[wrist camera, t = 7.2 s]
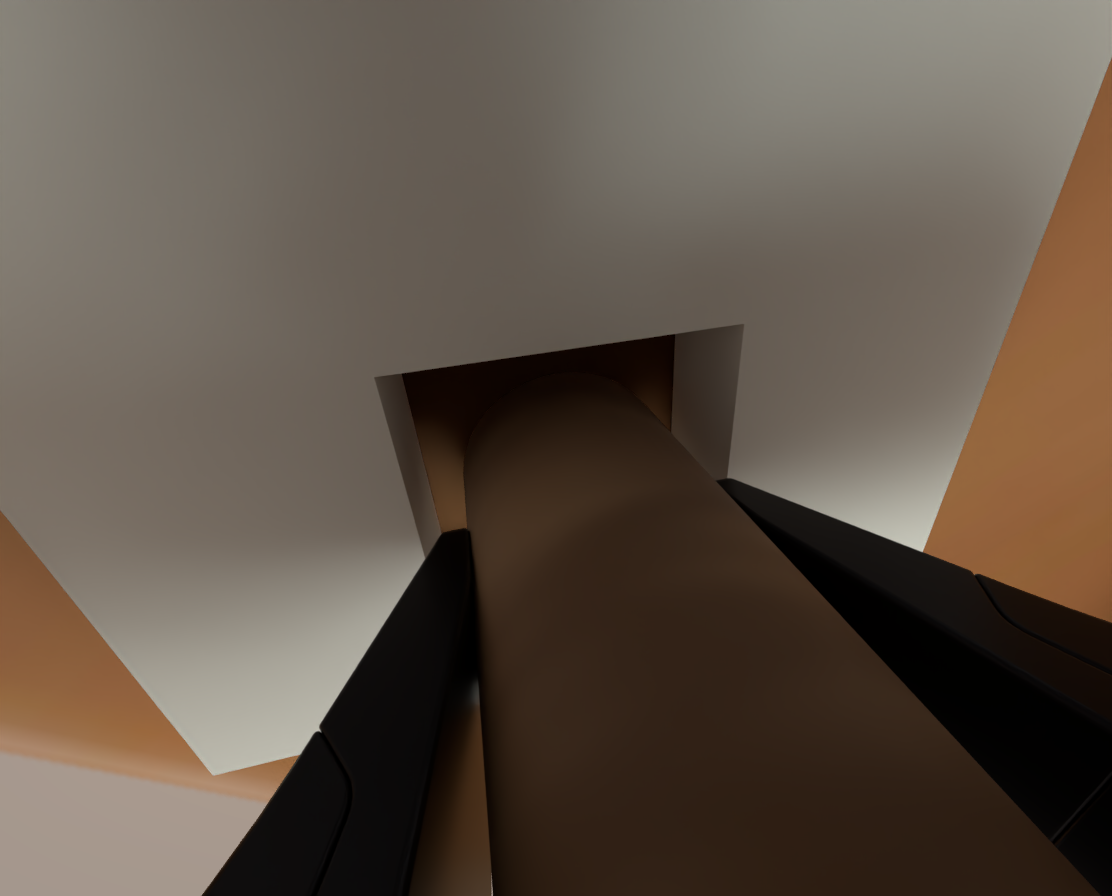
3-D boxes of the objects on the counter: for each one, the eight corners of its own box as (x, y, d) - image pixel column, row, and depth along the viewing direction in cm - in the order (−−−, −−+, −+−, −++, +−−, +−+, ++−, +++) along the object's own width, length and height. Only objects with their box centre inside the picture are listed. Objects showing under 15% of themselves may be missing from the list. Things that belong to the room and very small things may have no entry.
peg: (661, 357, 9) (1383, 922, 2) (656, 527, 11) (1021, 1107, 4) (445, 390, 8) (451, 1305, 2) (480, 562, 10) (556, 1305, 3)
